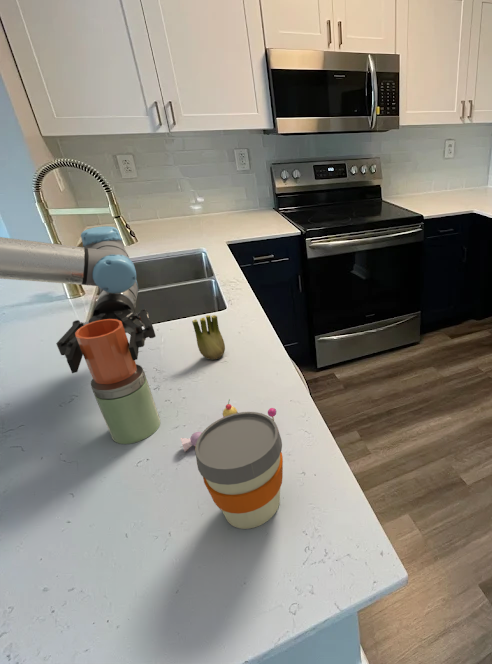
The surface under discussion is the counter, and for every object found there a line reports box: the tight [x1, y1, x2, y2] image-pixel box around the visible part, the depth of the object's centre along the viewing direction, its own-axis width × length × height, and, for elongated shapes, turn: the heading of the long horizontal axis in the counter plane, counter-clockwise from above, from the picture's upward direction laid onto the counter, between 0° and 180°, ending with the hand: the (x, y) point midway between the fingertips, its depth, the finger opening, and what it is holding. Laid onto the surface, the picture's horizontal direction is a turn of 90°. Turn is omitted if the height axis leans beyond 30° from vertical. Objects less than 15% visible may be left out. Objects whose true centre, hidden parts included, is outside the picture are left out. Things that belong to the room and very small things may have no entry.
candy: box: [180, 398, 277, 452], centre depth 84 cm, size 18×8×6 cm, turn 123°
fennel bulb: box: [191, 314, 226, 361], centre depth 108 cm, size 6×5×12 cm
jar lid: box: [90, 363, 147, 399], centre depth 81 cm, size 9×9×2 cm
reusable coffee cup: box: [194, 411, 284, 530], centre depth 67 cm, size 13×13×15 cm
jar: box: [93, 375, 161, 445], centre depth 84 cm, size 9×9×12 cm
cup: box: [75, 319, 137, 384], centre depth 79 cm, size 7×7×10 cm
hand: (103, 359), depth 75 cm, fingers open, 9 cm apart
